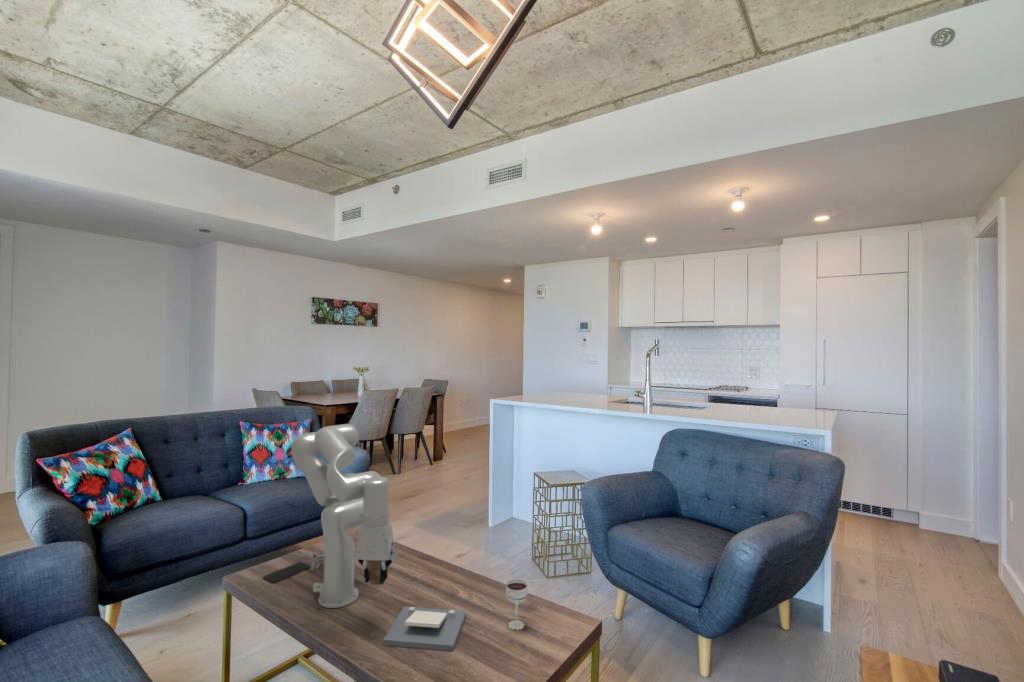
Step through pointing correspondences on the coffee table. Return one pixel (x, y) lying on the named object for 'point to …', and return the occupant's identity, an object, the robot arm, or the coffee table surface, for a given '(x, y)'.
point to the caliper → (317, 560)
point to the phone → (286, 572)
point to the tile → (426, 619)
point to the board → (426, 631)
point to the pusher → (374, 571)
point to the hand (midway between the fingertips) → (375, 580)
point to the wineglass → (516, 598)
